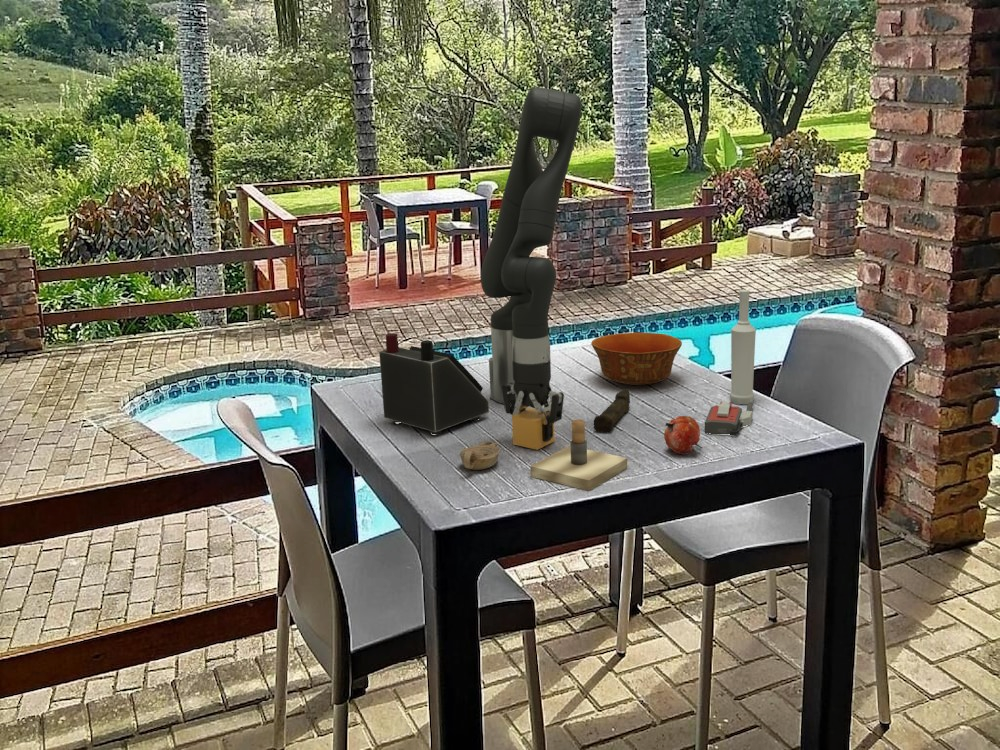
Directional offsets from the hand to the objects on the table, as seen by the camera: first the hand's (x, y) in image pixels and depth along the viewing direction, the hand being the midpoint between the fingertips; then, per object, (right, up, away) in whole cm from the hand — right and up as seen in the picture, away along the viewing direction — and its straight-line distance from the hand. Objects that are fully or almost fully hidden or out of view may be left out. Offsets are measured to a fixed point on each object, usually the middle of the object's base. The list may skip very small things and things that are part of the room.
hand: (533, 437), depth 212 cm
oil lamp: (-11, -5, -10) cm, 15 cm away
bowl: (+26, +11, +39) cm, 48 cm away
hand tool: (+18, +3, +14) cm, 22 cm away
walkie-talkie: (+41, +2, +9) cm, 42 cm away
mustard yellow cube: (0, -1, 0) cm, 1 cm away
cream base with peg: (+8, -6, -15) cm, 18 cm away
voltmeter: (-20, +2, +17) cm, 27 cm away
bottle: (+47, +6, +21) cm, 52 cm away
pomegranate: (+29, -2, -7) cm, 30 cm away
